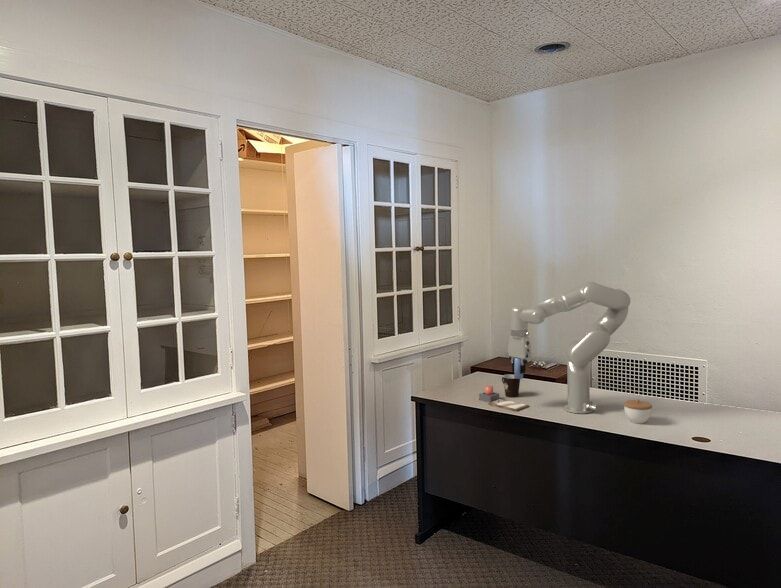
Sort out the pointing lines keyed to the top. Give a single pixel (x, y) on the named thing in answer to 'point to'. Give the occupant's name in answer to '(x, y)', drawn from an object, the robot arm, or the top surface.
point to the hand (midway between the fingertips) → (518, 371)
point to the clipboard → (508, 405)
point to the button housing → (489, 397)
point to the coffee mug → (511, 385)
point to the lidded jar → (637, 411)
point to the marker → (517, 368)
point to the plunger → (488, 390)
